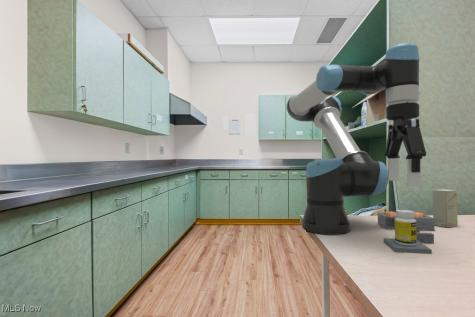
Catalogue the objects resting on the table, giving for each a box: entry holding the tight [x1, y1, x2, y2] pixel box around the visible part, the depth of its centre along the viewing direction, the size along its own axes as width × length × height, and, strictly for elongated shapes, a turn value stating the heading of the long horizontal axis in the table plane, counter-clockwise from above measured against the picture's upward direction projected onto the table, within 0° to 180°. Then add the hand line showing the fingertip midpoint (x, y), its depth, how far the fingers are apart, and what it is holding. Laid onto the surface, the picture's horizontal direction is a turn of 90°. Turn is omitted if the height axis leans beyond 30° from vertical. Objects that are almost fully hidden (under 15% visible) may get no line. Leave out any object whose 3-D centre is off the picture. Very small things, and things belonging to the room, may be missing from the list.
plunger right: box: [414, 211, 424, 217], centre depth 85 cm, size 3×3×4 cm
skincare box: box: [431, 188, 459, 228], centre depth 87 cm, size 6×4×12 cm
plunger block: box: [377, 211, 436, 232], centre depth 86 cm, size 14×8×4 cm, turn 78°
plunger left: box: [385, 210, 396, 216], centre depth 87 cm, size 3×3×4 cm
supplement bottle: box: [394, 209, 417, 246], centre depth 66 cm, size 5×5×8 cm
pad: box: [383, 237, 433, 255], centre depth 66 cm, size 8×8×1 cm
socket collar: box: [416, 226, 435, 245], centre depth 74 cm, size 9×5×2 cm, turn 168°
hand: (402, 183), depth 69 cm, fingers open, 13 cm apart
